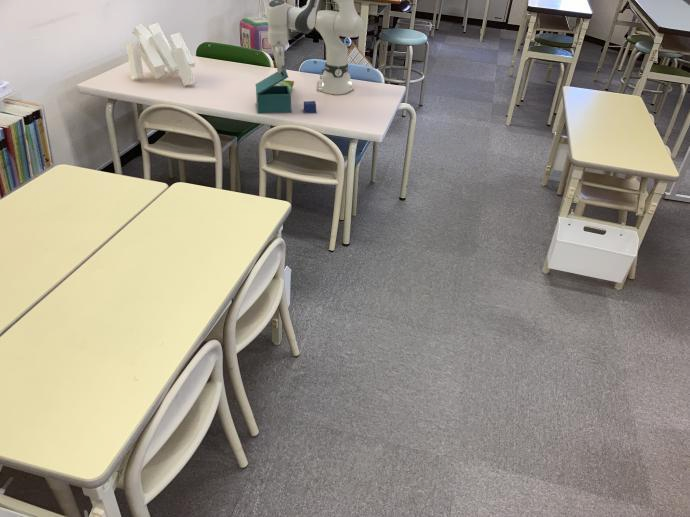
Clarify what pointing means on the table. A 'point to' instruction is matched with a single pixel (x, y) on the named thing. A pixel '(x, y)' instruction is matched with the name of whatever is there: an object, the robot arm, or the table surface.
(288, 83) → the puzzle game
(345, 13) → the robot arm
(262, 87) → the cooler lid
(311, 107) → the block
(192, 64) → the pile of blocks
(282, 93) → the cooler
